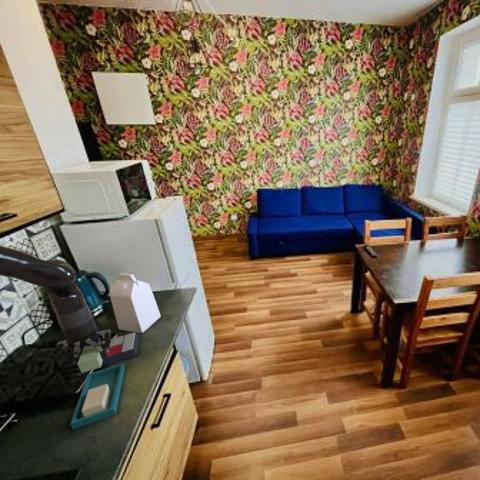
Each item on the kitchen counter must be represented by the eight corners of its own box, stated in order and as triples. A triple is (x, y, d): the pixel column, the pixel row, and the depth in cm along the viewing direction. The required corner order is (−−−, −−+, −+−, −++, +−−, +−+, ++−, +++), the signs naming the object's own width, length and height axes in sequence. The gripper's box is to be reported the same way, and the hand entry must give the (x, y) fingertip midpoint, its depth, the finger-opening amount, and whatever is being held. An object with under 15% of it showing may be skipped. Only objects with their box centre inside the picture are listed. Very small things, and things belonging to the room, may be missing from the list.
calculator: (92, 343, 107) (136, 330, 113) (96, 351, 109) (139, 337, 115) (85, 363, 98) (133, 347, 104) (90, 371, 100) (136, 355, 106)
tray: (73, 429, 80) (70, 424, 79) (89, 379, 96) (87, 374, 95) (115, 414, 84) (113, 408, 83) (125, 368, 100) (123, 363, 100)
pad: (85, 419, 82) (81, 411, 81) (92, 398, 89) (88, 389, 87) (105, 412, 84) (101, 404, 83) (110, 392, 91) (107, 383, 89)
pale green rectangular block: (81, 373, 85) (77, 363, 83) (88, 355, 91) (84, 346, 90) (100, 367, 87) (96, 358, 85) (105, 350, 94) (102, 341, 92)
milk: (160, 316, 128) (148, 269, 118) (142, 333, 118) (126, 282, 108) (139, 313, 130) (124, 266, 120) (118, 329, 120) (101, 279, 110)
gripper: (40, 335, 76) (62, 377, 83) (102, 320, 82) (118, 360, 89) (50, 319, 83) (70, 360, 89) (107, 306, 89) (121, 345, 95)
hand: (94, 360), depth 89 cm, fingers closed on pale green rectangular block, 5 cm apart
